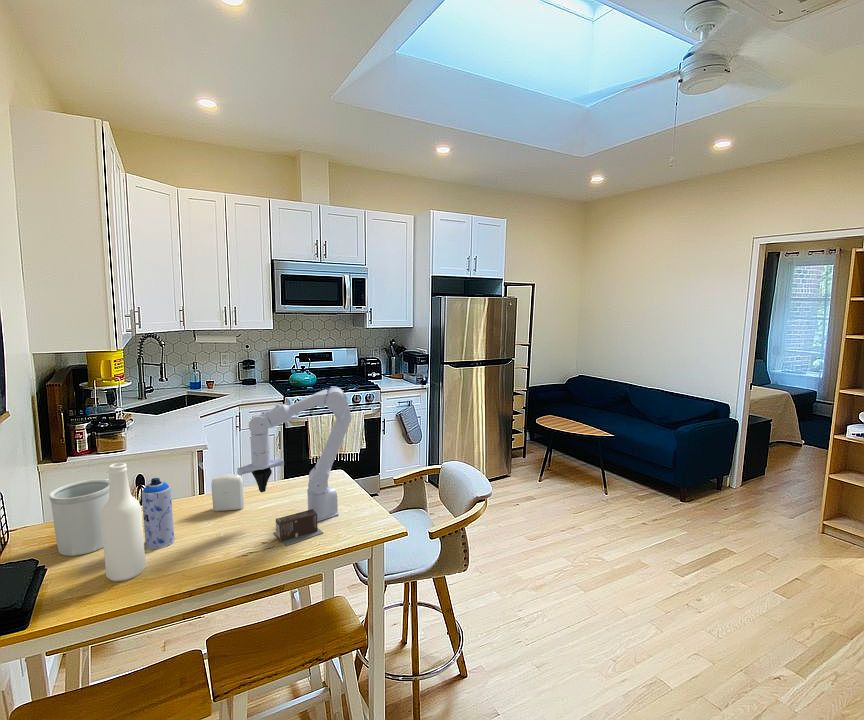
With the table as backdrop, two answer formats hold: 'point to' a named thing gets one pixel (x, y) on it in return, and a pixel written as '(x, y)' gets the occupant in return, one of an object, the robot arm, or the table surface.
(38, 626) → the table surface
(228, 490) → the photo printer
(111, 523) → the alcohol
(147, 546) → the aerosol can
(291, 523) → the box
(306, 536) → the mat
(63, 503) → the utensil holder
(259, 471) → the robot arm
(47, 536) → the table surface
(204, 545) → the table surface
